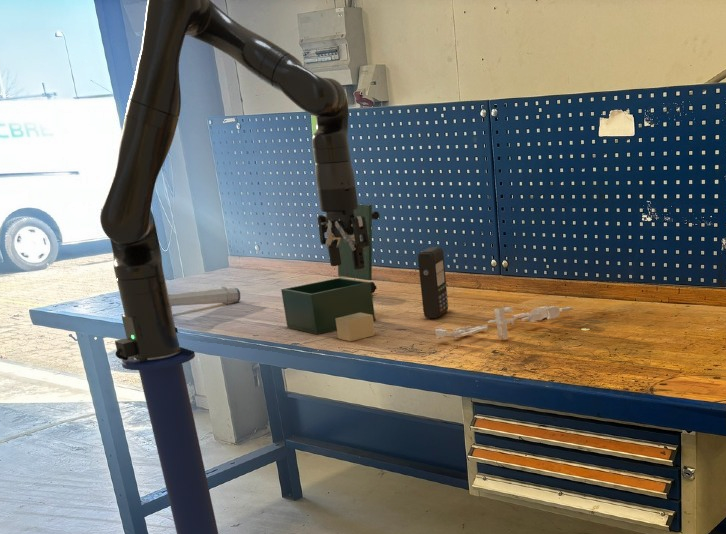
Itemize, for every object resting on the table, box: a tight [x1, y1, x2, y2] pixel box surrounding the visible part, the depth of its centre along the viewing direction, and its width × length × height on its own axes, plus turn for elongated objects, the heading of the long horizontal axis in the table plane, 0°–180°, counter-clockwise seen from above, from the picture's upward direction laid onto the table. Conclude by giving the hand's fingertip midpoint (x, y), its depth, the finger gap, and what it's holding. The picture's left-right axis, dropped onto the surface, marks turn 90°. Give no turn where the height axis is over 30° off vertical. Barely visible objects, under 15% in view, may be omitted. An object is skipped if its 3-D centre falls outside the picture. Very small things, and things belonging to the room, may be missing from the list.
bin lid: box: [337, 204, 380, 281], centre depth 196 cm, size 16×13×6 cm
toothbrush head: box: [168, 286, 241, 310], centre depth 219 cm, size 5×7×25 cm
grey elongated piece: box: [434, 305, 574, 341], centre depth 177 cm, size 6×35×12 cm
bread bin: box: [280, 277, 376, 335], centre depth 194 cm, size 16×13×9 cm
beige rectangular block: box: [335, 313, 376, 342], centre depth 181 cm, size 6×5×4 cm
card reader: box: [417, 246, 449, 319], centre depth 194 cm, size 9×4×15 cm, turn 168°
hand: (347, 267), depth 176 cm, fingers open, 8 cm apart
